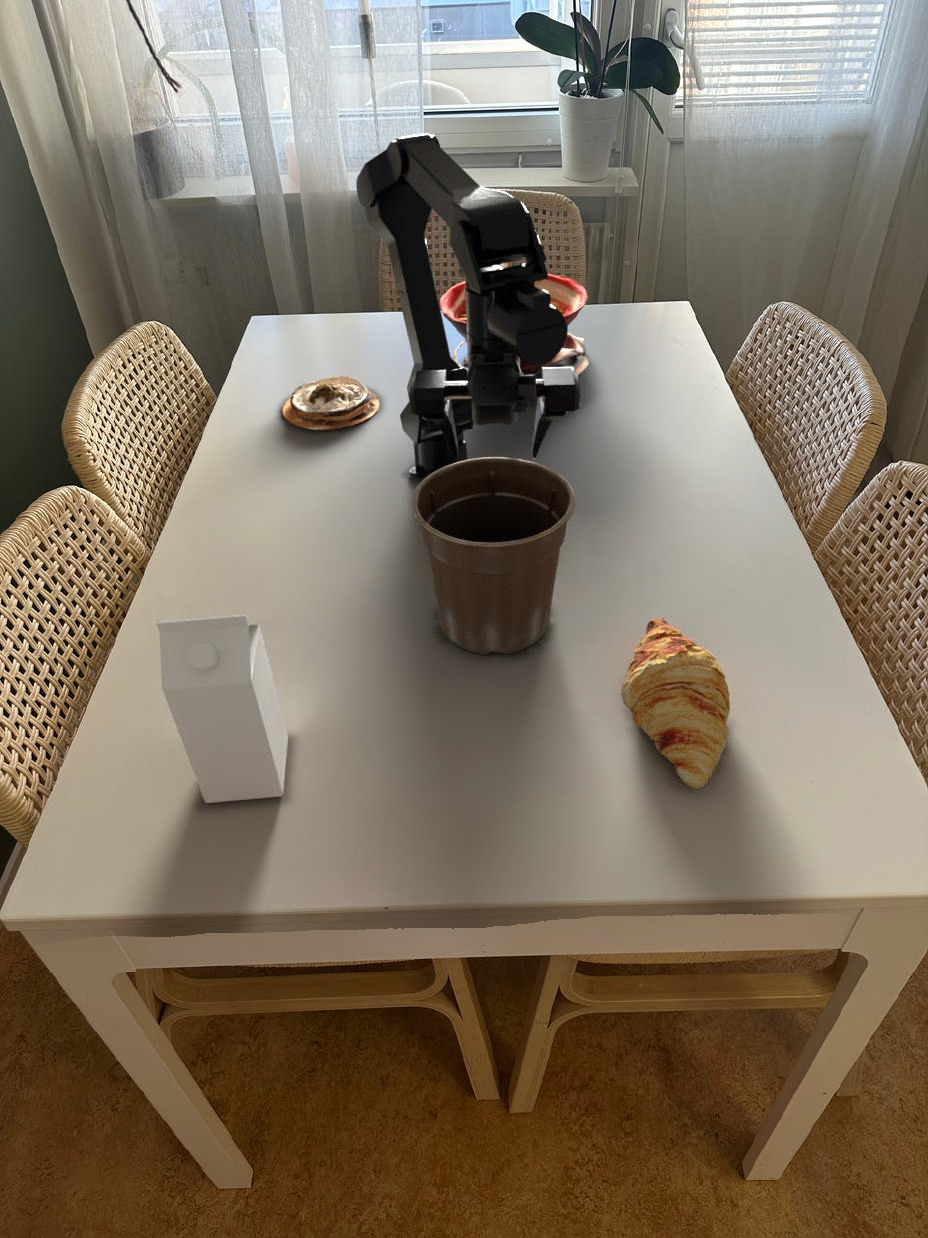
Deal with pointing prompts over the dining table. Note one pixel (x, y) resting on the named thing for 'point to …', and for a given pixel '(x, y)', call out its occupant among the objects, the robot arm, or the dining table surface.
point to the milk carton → (225, 706)
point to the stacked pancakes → (330, 404)
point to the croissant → (679, 700)
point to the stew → (563, 297)
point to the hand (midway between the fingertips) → (495, 457)
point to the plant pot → (493, 548)
